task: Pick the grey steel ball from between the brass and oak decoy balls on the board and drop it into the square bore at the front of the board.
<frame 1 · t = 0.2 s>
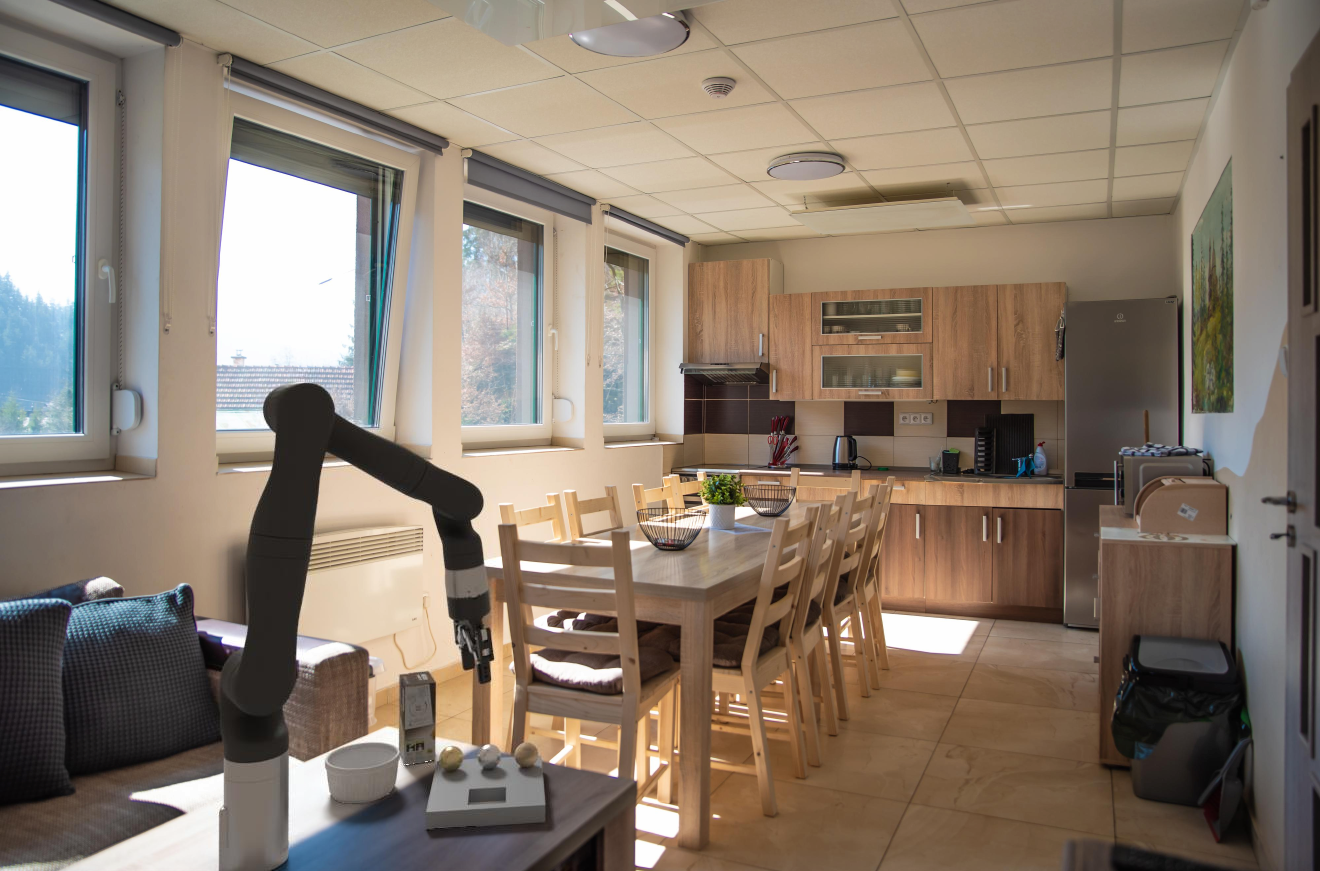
hand: (476, 675, 158), 22 cm above the table, tool pointing down, fingers open, 8 cm apart
ramekin: (362, 792, 161), on the table
oak ball: (526, 754, 166), point 5 cm above the table, touching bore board
coffee box: (416, 756, 178), on the table
brass ball: (451, 758, 164), point 5 cm above the table, touching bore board
steel ball: (489, 756, 165), point 5 cm above the table, touching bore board
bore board: (488, 797, 159), on the table
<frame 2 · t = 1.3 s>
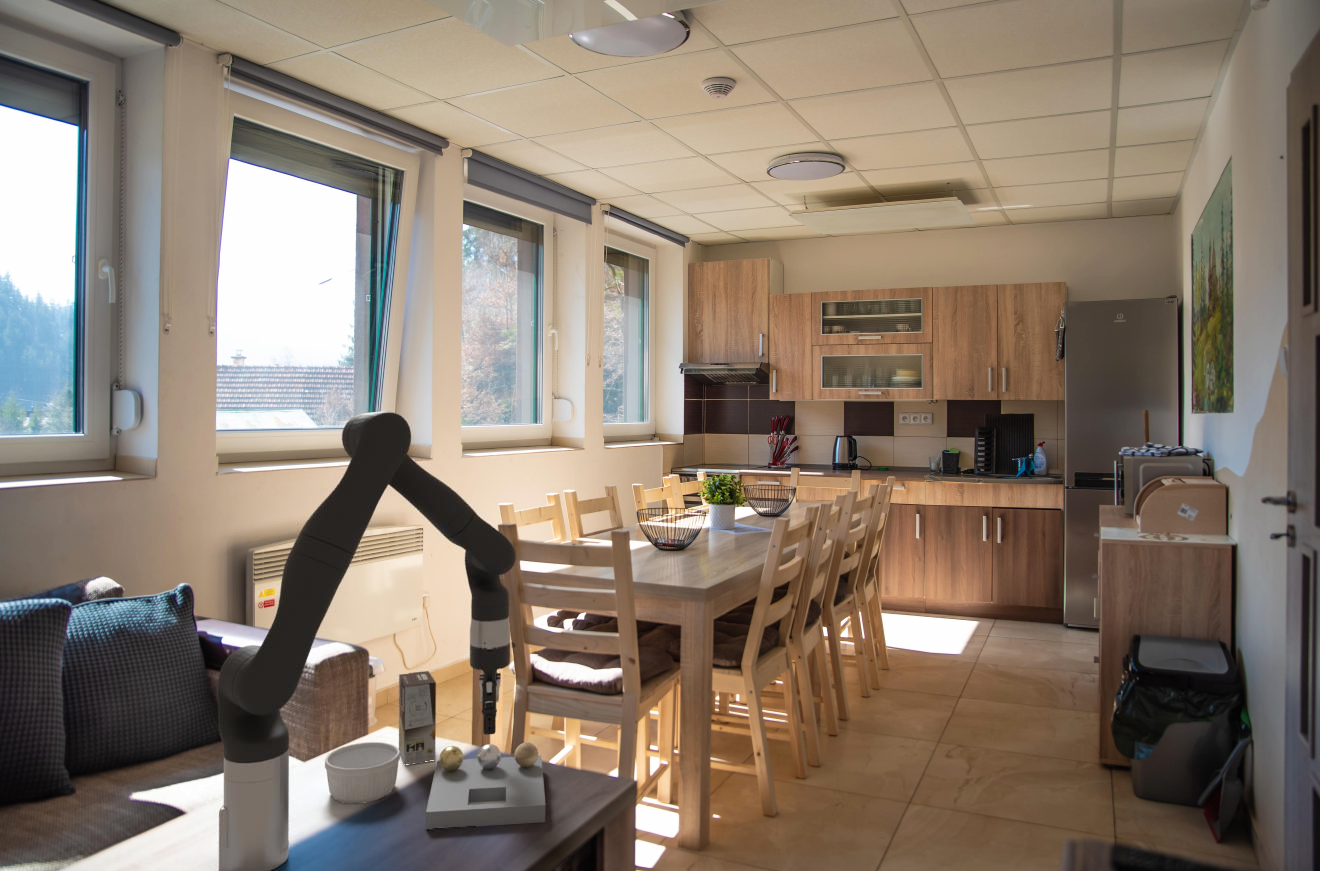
hand: (490, 725, 165), 11 cm above the table, tool pointing down, fingers open, 8 cm apart
nothing on the table moved.
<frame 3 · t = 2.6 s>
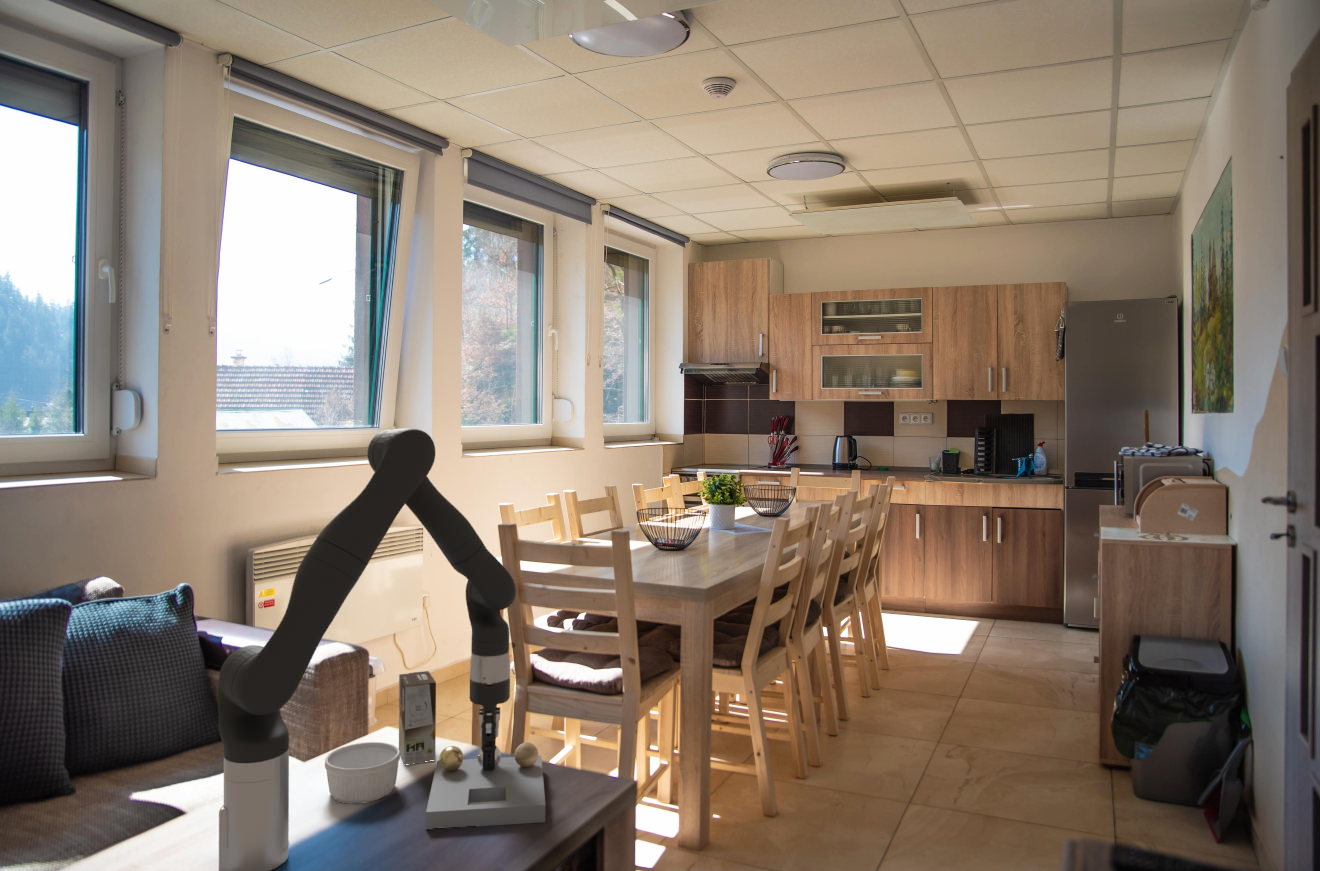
hand: (489, 764, 165), 4 cm above the table, tool pointing down, fingers closed on steel ball, 4 cm apart
steel ball: (489, 756, 165), point 5 cm above the table, touching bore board, gripper
everything else where it was.
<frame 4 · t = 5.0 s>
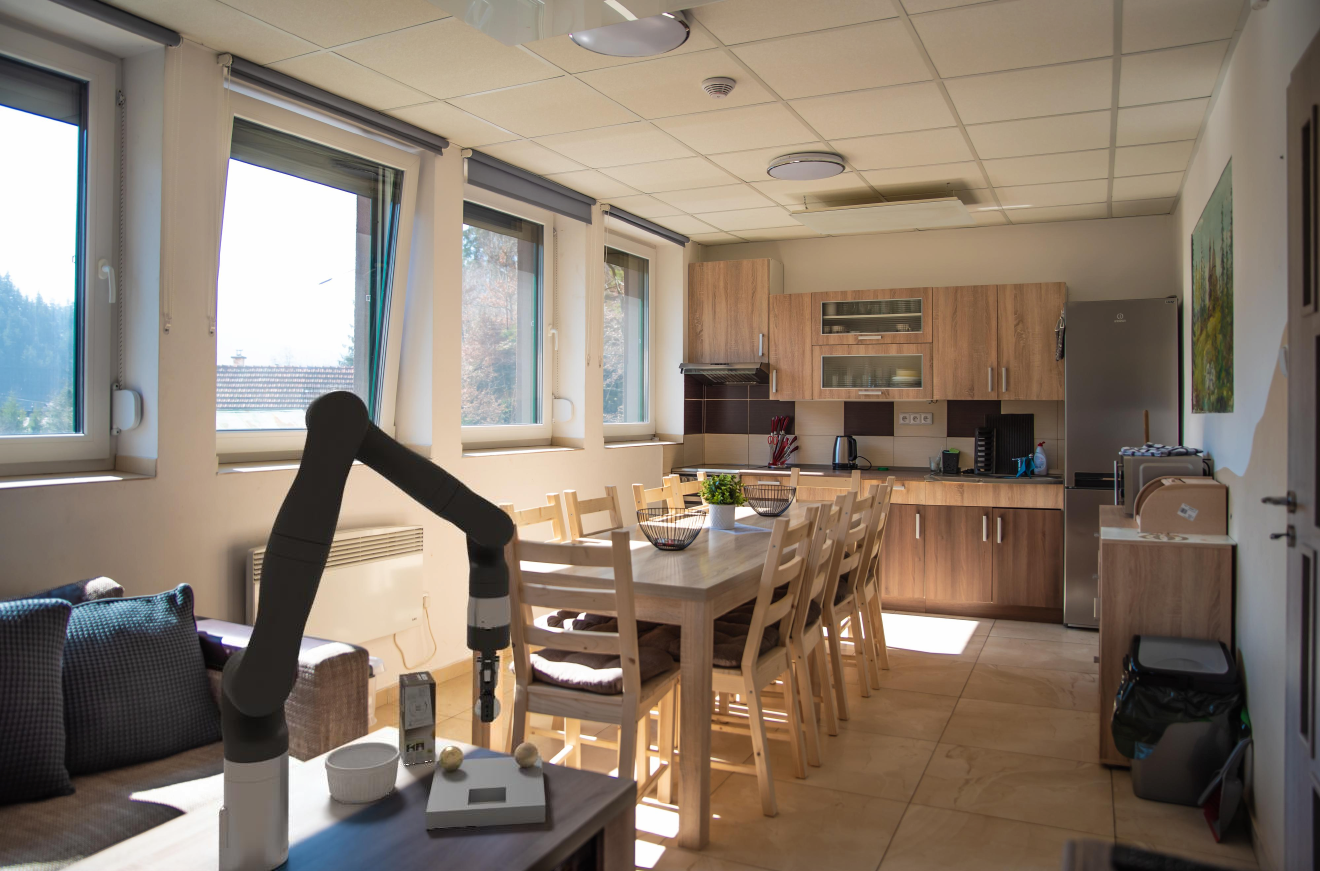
hand: (487, 716, 153), 17 cm above the table, tool pointing down, fingers closed on steel ball, 4 cm apart
steel ball: (487, 708, 153), point 19 cm above the table, touching gripper
everything else where it was.
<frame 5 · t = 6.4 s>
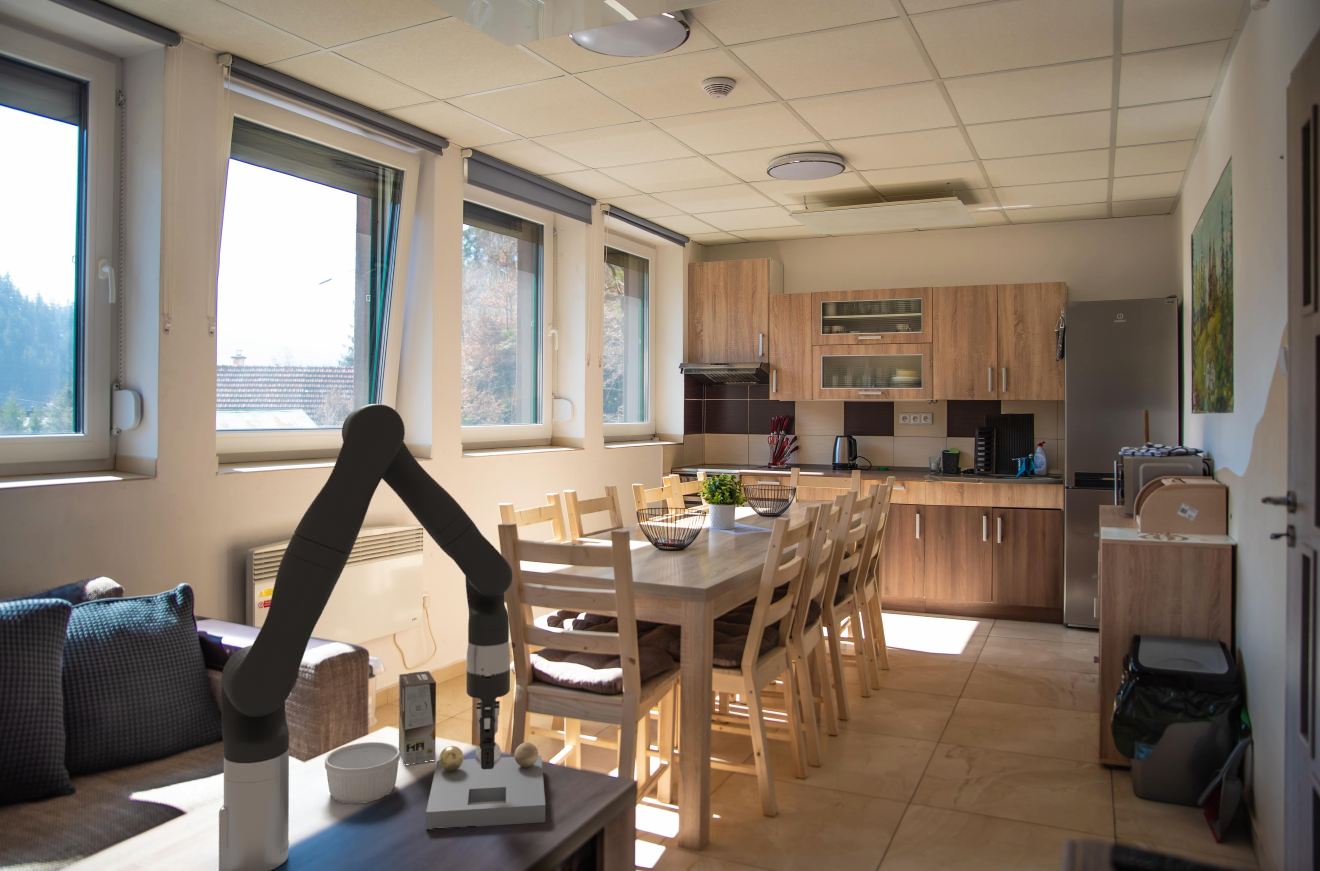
hand: (487, 762, 153), 9 cm above the table, tool pointing down, fingers closed on steel ball, 4 cm apart
steel ball: (488, 754, 153), point 10 cm above the table, touching gripper
everything else where it was.
when the fingers open (6 cm above the table, at t = 7.5 s): steel ball drops 4 cm, resting on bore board.
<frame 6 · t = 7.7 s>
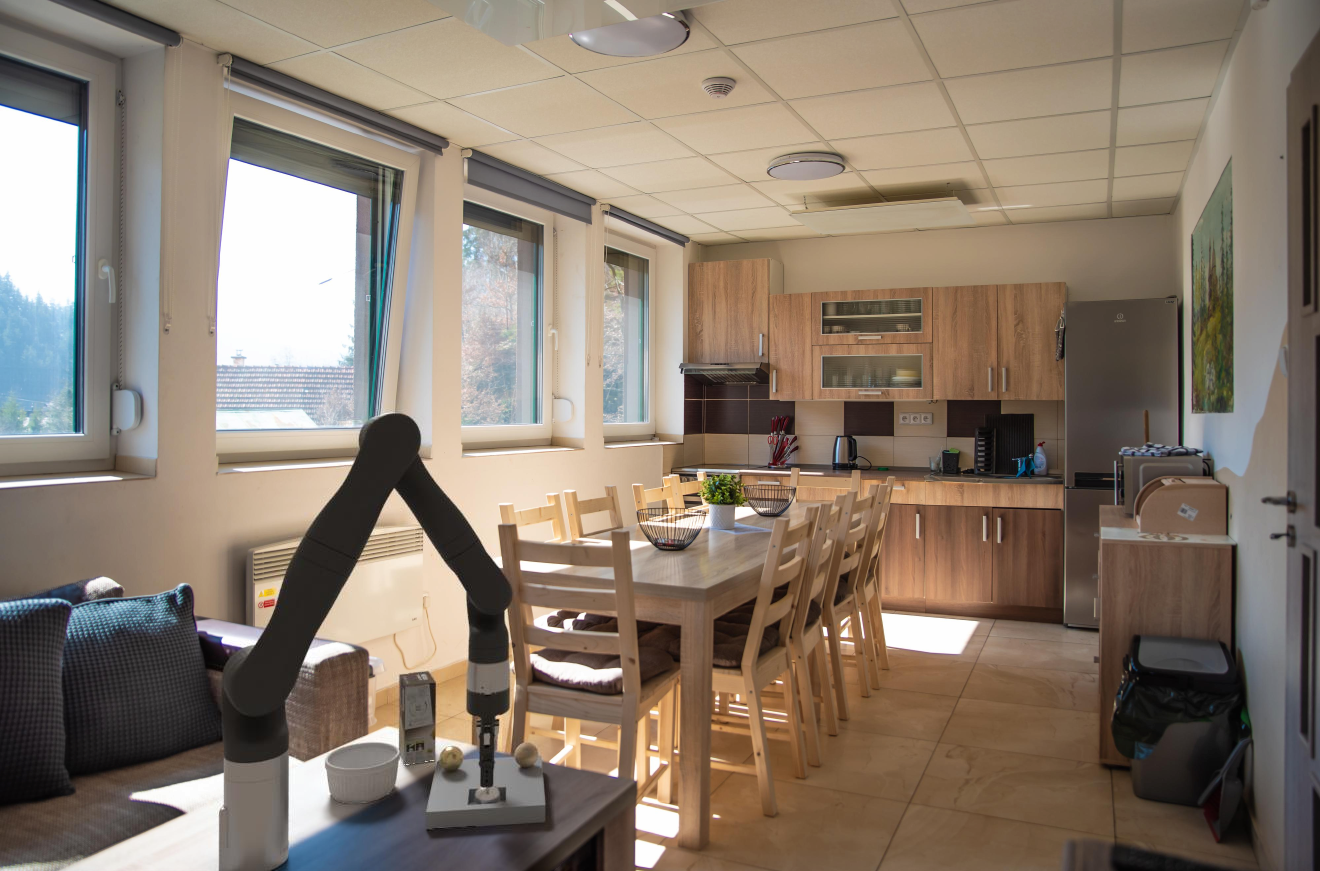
hand: (487, 777, 153), 6 cm above the table, tool pointing down, fingers open, 6 cm apart
steel ball: (487, 797, 153), point 3 cm above the table, touching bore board
everything else where it was.
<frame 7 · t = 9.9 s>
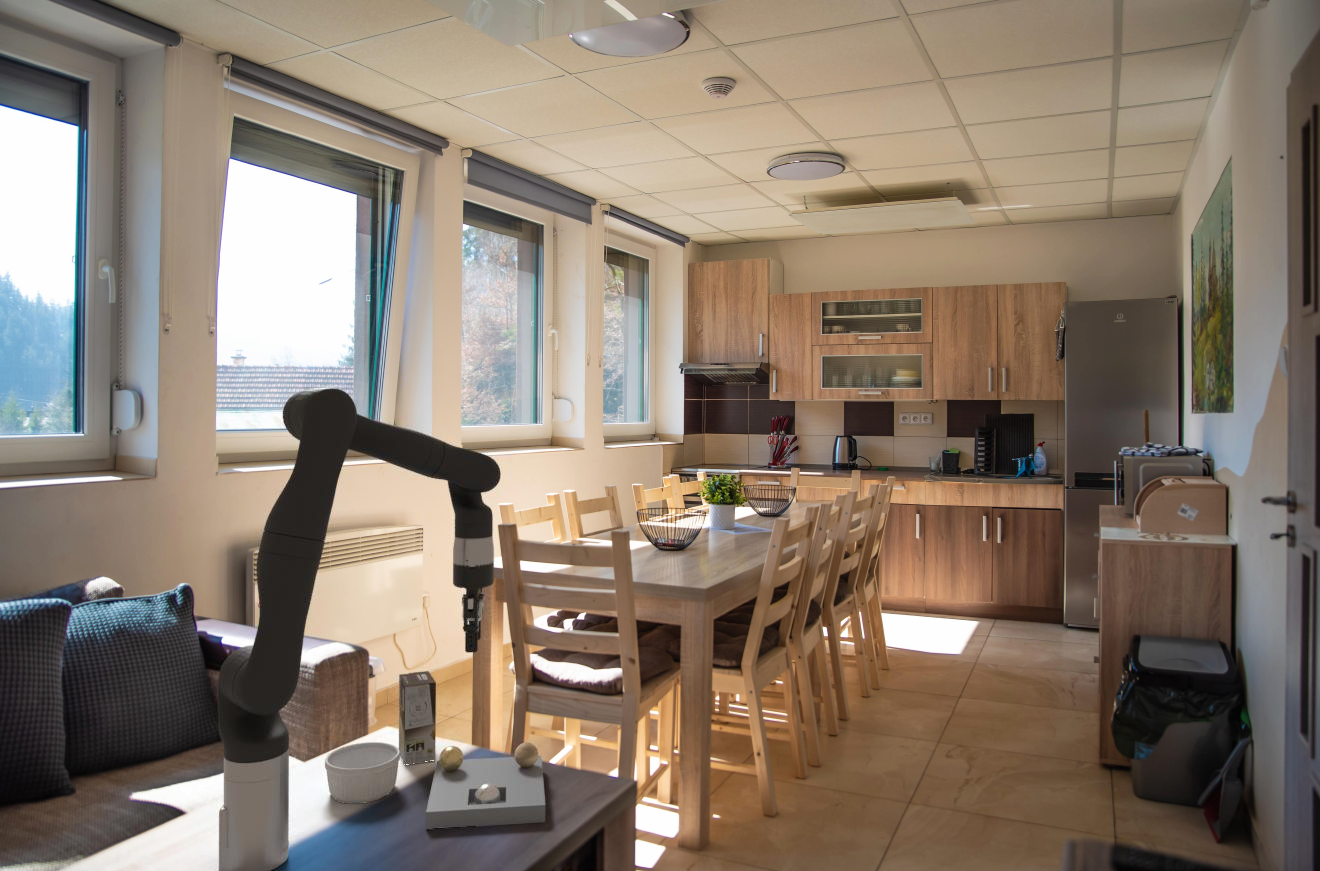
hand: (473, 645, 164), 27 cm above the table, tool pointing down, fingers open, 8 cm apart
nothing on the table moved.
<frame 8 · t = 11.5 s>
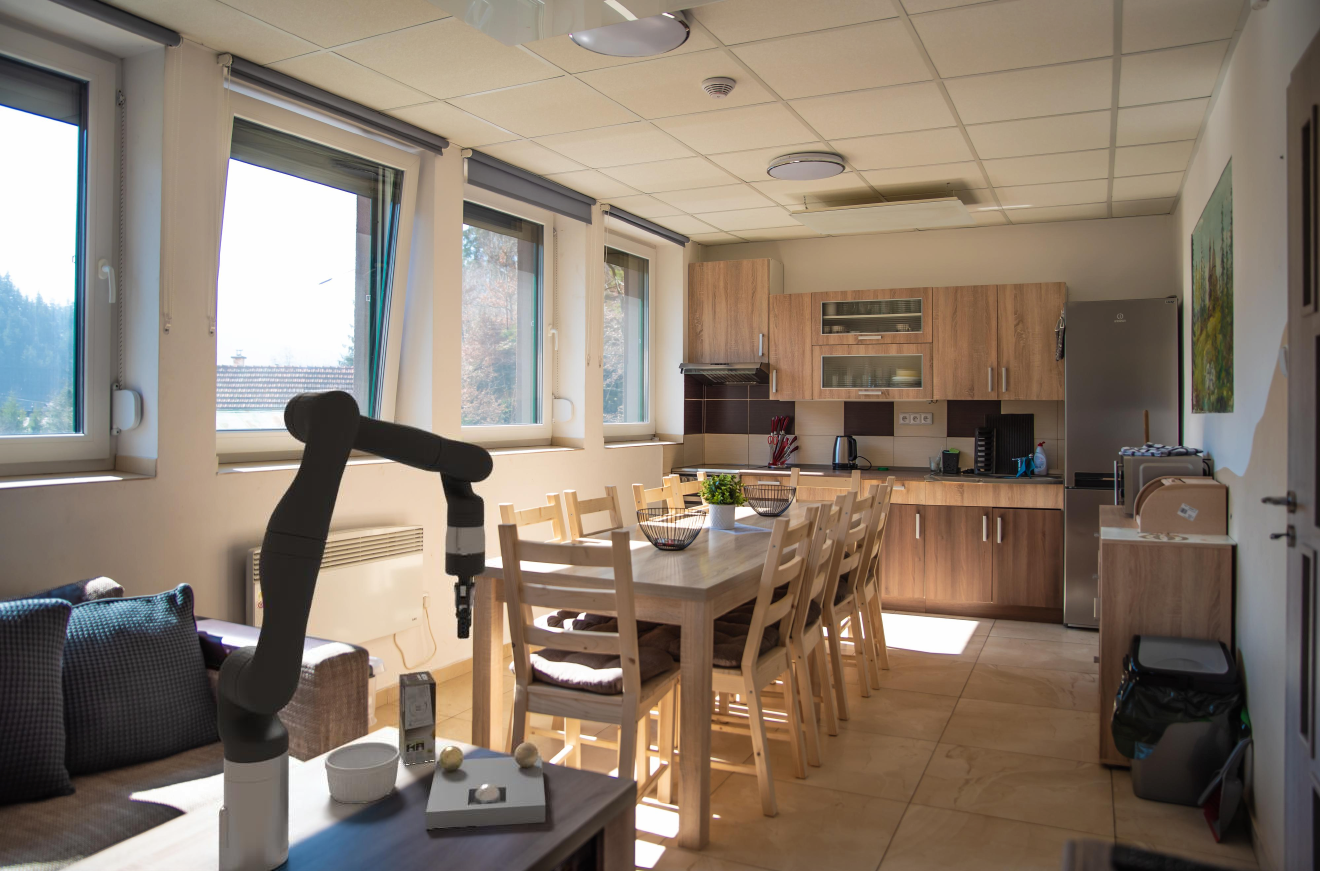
hand: (464, 632, 167), 28 cm above the table, tool pointing down, fingers open, 8 cm apart
nothing on the table moved.
at the end: steel ball 0.0 cm from the target spot on the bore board, point 2.7 cm above the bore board's base; the gripper is holding nothing; brass ball moved 0.0 cm from its start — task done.
